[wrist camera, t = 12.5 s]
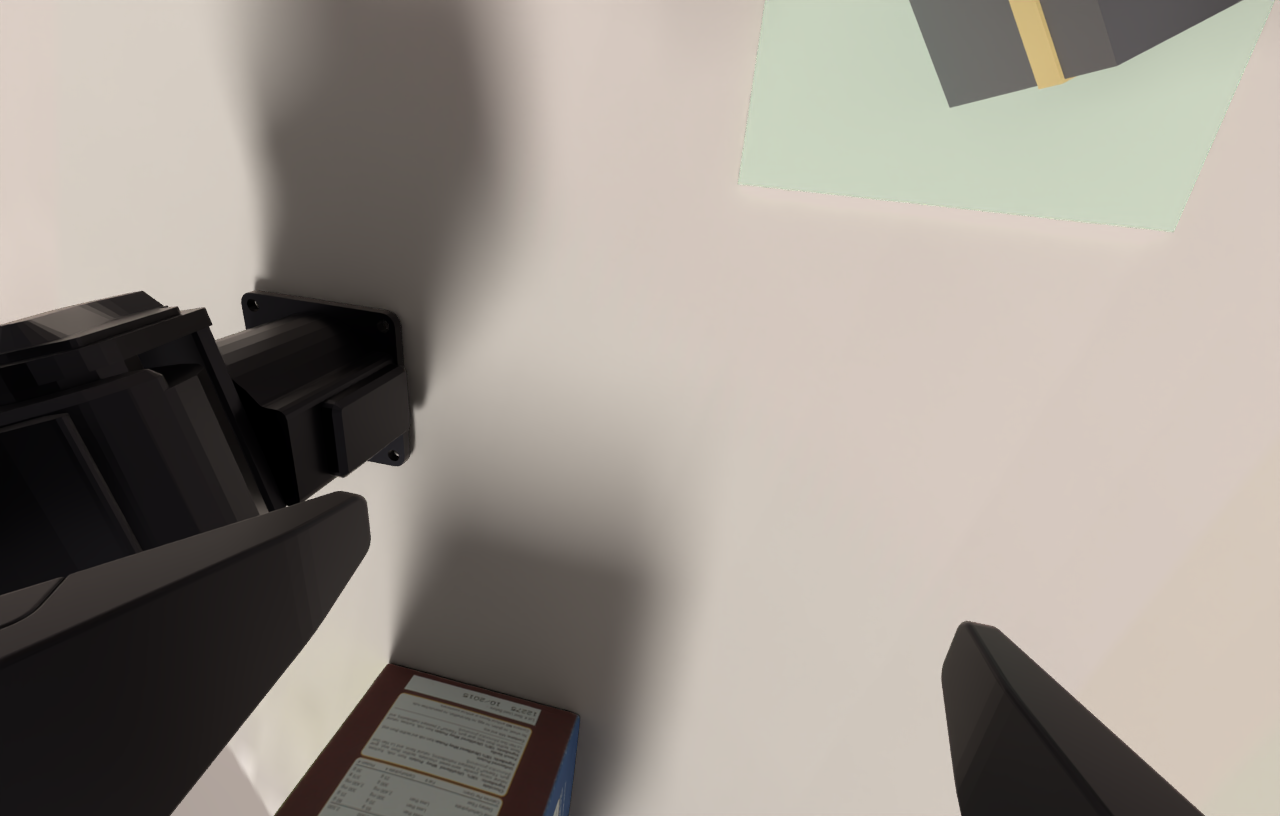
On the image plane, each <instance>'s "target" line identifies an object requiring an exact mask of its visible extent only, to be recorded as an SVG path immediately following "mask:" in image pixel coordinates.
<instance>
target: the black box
mask: <svg viewBox="0 0 1280 816" xmlns="http://www.w3.org/2000/svg"><path fill="white" fill-rule="evenodd" d="M1240 1H1242V0H909V2H910V4H911V7H912V9H913V12H914V15H915V17H916V20H917V23H918V25H919V28H920V31H921V33H922V36H923V39H924V41H925V44H926V47H927V49H928V52H929V54H930V57H931V60H932V62H933V65H934V68H935V70H936V73H937V76H938V78H939V81H940V84H941V86H942V89H943V91H944V94H945V97H946V99H947V102H948V105H949V107H950V108H952V107H956V106H960V105H964V104H968V103H972V102H976V101H980V100H984V99H988V98H992V97H996V96H1000V95H1004V94H1008V93H1012V92H1016V91H1019V90H1023V89H1027V88H1031V87H1035V86H1038V89H1043V88H1047V87H1051V86H1055V85H1060V84H1063V83H1065V82H1067V81H1069V80H1071V79H1073V78H1074V77H1076V76H1079V75H1083V74H1087V73H1091V72H1095V71H1099V70H1103V69H1107V68H1111V67H1115V66H1118V65H1120V64H1122V63H1124V62H1126V61H1128V60H1130V59H1132V58H1134V57H1135V56H1137V55H1139V54H1141V53H1143V52H1145V51H1147V50H1149V49H1151V48H1153V47H1155V46H1156V45H1158V44H1160V43H1162V42H1164V41H1166V40H1168V39H1170V38H1172V37H1174V36H1176V35H1177V34H1179V33H1181V32H1183V31H1185V30H1187V29H1189V28H1191V27H1193V26H1195V25H1197V24H1198V23H1200V22H1202V21H1204V20H1206V19H1208V18H1210V17H1212V16H1214V15H1216V14H1218V13H1219V12H1221V11H1223V10H1225V9H1227V8H1229V7H1231V6H1233V5H1235V4H1237V3H1239V2H1240Z"/></svg>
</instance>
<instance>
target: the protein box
mask: <svg viewBox="0 0 1280 816" xmlns="http://www.w3.org/2000/svg"><path fill="white" fill-rule="evenodd" d="M579 723H580V717H579V715H577V714H575V713H572V712H568V711H565V710H560V709H557V708H554V707H549V706H546V705H542V704H538V703H534V702H531V701H528V700H524V699H520V698H516V697H512V696H508V695H505V694H501V693H497V692H493V691H490V690H486V689H483V688H479V687H475V686H471V685H467V684H464V683H460V682H457V681H453V680H449V679H445V678H442V677H439V676H435V675H431V674H427V673H424V672H419V671H416V670H412V669H408V668H405V667H401V666H398V665H394V664H387V665H386V667H385V668H384V669H383V670H382V672H381V673H380V674H379V676H378V677H377V678H376V680H375V681H374V682H373V684H372V685H371V687H370V688H369V689H368V691H367V692H366V694H365V695H364V696H363V698H362V699H361V700H360V702H359V703H358V704H357V706H356V707H355V708H354V709H353V711H352V712H351V714H350V715H349V716H348V718H347V719H346V720H345V722H344V723H343V724H342V726H341V727H340V728H339V730H338V731H337V732H336V734H335V735H334V736H333V738H332V739H331V740H330V741H329V743H328V744H327V745H326V747H325V748H324V749H323V751H322V752H321V753H320V755H319V756H318V757H317V759H316V760H315V761H314V763H313V764H312V765H311V767H310V768H309V769H308V771H307V772H306V773H305V775H304V776H303V777H302V779H301V780H300V781H299V783H298V784H297V785H296V787H295V788H294V789H293V791H292V792H291V793H290V795H289V796H288V797H287V799H286V800H285V801H284V803H283V804H282V805H281V807H280V808H279V809H278V811H277V812H276V813H275V815H274V816H569V808H570V800H571V793H572V785H573V777H574V769H575V760H576V751H577V742H578V733H579Z"/></svg>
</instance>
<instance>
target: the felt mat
mask: <svg viewBox="0 0 1280 816" xmlns="http://www.w3.org/2000/svg"><path fill="white" fill-rule="evenodd" d="M1274 2H1275V0H1242V1H1240V2H1239V3H1237V4H1235V5H1233V6H1231V7H1229V8H1227V9H1225V10H1223V11H1221V12H1219V13H1218V14H1216V15H1214V16H1212V17H1210V18H1208V19H1206V20H1204V21H1202V22H1200V23H1198V24H1197V25H1195V26H1193V27H1191V28H1189V29H1187V30H1185V31H1183V32H1181V33H1179V34H1177V35H1176V36H1174V37H1172V38H1170V39H1168V40H1166V41H1164V42H1162V43H1160V44H1158V45H1156V46H1155V47H1153V48H1151V49H1149V50H1147V51H1145V52H1143V53H1141V54H1139V55H1137V56H1135V57H1134V58H1132V59H1130V60H1128V61H1126V62H1124V63H1122V64H1120V65H1118V66H1115V67H1111V68H1107V69H1103V70H1099V71H1095V72H1091V73H1087V74H1083V75H1079V76H1076V77H1074V78H1073V79H1071V80H1069V81H1067V82H1065V83H1063V84H1060V85H1055V86H1051V87H1047V88H1043V89H1038V86H1035V87H1031V88H1027V89H1023V90H1019V91H1016V92H1012V93H1008V94H1004V95H1000V96H996V97H992V98H988V99H984V100H980V101H976V102H972V103H968V104H964V105H960V106H956V107H952V108H950V107H949V105H948V102H947V99H946V97H945V94H944V91H943V89H942V86H941V84H940V81H939V78H938V76H937V73H936V70H935V68H934V65H933V62H932V60H931V57H930V54H929V52H928V49H927V47H926V44H925V41H924V39H923V36H922V33H921V31H920V28H919V25H918V23H917V20H916V17H915V15H914V12H913V9H912V7H911V4H910V2H909V0H765V4H764V10H763V17H762V24H761V31H760V37H759V44H758V51H757V58H756V64H755V71H754V78H753V84H752V91H751V98H750V105H749V111H748V118H747V125H746V132H745V138H744V145H743V152H742V159H741V165H740V172H739V179H738V184H739V185H748V186H758V187H767V188H776V189H785V190H794V191H803V192H812V193H821V194H830V195H839V196H849V197H858V198H867V199H876V200H885V201H894V202H903V203H912V204H921V205H930V206H939V207H949V208H958V209H967V210H976V211H985V212H994V213H1003V214H1012V215H1021V216H1030V217H1039V218H1049V219H1058V220H1067V221H1076V222H1085V223H1094V224H1103V225H1112V226H1121V227H1130V228H1139V229H1149V230H1158V231H1167V232H1174V230H1175V228H1176V226H1177V224H1178V221H1179V219H1180V217H1181V214H1182V212H1183V210H1184V208H1185V205H1186V203H1187V201H1188V198H1189V196H1190V194H1191V192H1192V189H1193V187H1194V185H1195V182H1196V180H1197V178H1198V176H1199V173H1200V171H1201V169H1202V166H1203V164H1204V162H1205V160H1206V157H1207V155H1208V153H1209V150H1210V148H1211V146H1212V144H1213V141H1214V139H1215V137H1216V134H1217V132H1218V130H1219V127H1220V125H1221V123H1222V121H1223V118H1224V116H1225V114H1226V111H1227V109H1228V107H1229V105H1230V102H1231V100H1232V98H1233V95H1234V93H1235V91H1236V89H1237V86H1238V84H1239V82H1240V79H1241V77H1242V75H1243V73H1244V70H1245V68H1246V66H1247V63H1248V61H1249V59H1250V57H1251V54H1252V52H1253V50H1254V47H1255V45H1256V43H1257V41H1258V38H1259V36H1260V34H1261V31H1262V29H1263V27H1264V25H1265V22H1266V20H1267V18H1268V15H1269V13H1270V11H1271V9H1272V6H1273V4H1274Z"/></svg>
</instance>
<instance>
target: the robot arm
mask: <svg viewBox="0 0 1280 816" xmlns="http://www.w3.org/2000/svg"><path fill="white" fill-rule="evenodd" d="M255 301H256V302H257V303H258V306H259V308H258V307H257V306H256V304H255ZM241 304H242V310H243V315H244V321H245V326H246V330H244V331H241V332H238V333H235V334H232V335H229V336H226V337H224V338H221V339H218V340H215V339H214V337H213V335H212V332H211V330H210V328H209V326H211V325H212V323H211V320H210V318H209V316H208V313H207V311H206V309H205V307H203V308H196V309H189V310H183V311H180V310H179V308H178V306H176V307H168V306H163V305H162V304H160V303H159V302H158V301H156V300H155V299H153V298H152V297H151V296H149V295H148V294H146V293H145V292H143V291H139V292H133V293H127V294H122V295H118V296H113V297H109V298H104V299H100V300H95V301H90V302H86V303H81V304H77V305H73V306H68V307H64V308H60V309H56V310H52V311H48V312H45V313H41V314H37V315H34V316H30V317H27V318H23V319H19V320H16V321H12V322H9V323H5V324H1V325H0V816H170V815H171V814H172V813H173V811H174V810H175V809H176V808H177V806H178V805H179V804H180V803H181V801H182V800H183V799H184V797H185V796H186V795H187V794H188V792H189V791H190V790H191V789H192V787H193V786H194V785H195V784H196V782H197V781H198V780H199V779H200V777H201V776H202V775H203V774H204V772H205V771H206V769H208V767H209V766H210V765H211V763H212V762H213V761H214V760H215V758H216V757H217V756H218V755H219V753H220V752H221V751H222V749H223V748H224V747H225V746H226V745H227V743H228V742H229V741H230V740H231V738H232V737H233V736H234V735H235V733H236V732H237V731H238V730H239V728H240V727H241V726H242V725H243V723H244V722H245V721H246V719H247V718H248V717H249V716H250V714H251V713H252V712H253V711H254V709H255V708H256V707H257V706H258V704H259V703H260V702H261V701H262V699H263V698H264V697H265V696H266V694H267V693H268V692H269V691H270V689H271V688H272V687H273V686H274V684H275V683H276V682H277V680H278V679H279V678H280V677H281V675H282V674H283V673H284V672H285V670H286V669H287V668H288V667H289V665H290V664H291V663H292V662H293V660H294V659H295V658H296V657H297V655H298V654H299V653H300V652H301V650H302V649H303V648H304V646H305V645H306V644H307V642H308V641H309V640H310V639H311V637H312V636H313V635H314V633H315V632H316V630H317V629H318V627H319V626H320V624H321V623H322V622H323V620H324V619H325V617H326V616H327V614H328V612H329V611H330V609H331V608H332V606H333V605H334V603H335V602H336V600H337V599H338V597H339V595H340V594H341V592H342V591H343V589H344V588H345V586H346V585H347V583H348V582H349V580H350V578H351V577H352V575H353V574H354V572H355V571H356V569H357V568H358V566H359V565H360V563H361V561H362V560H363V558H364V557H365V555H366V553H367V551H368V549H369V546H370V541H371V535H370V526H369V517H368V507H367V502H366V500H365V498H364V497H363V496H361V495H358V494H353V493H349V492H344V491H336V492H333V493H330V494H326V495H323V496H320V497H317V498H314V499H310V500H307V499H308V498H309V497H311V496H312V495H313V494H315V493H316V492H317V491H319V490H320V489H321V488H323V487H324V486H325V485H327V484H328V483H329V482H331V481H332V480H334V479H335V478H336V477H342V478H344V477H346V476H348V475H349V474H350V473H352V472H353V471H354V470H356V469H357V468H358V467H360V466H361V465H362V464H364V463H365V462H366V461H371V462H376V463H381V464H386V465H391V466H400V465H402V464H403V463H404V462H406V461H407V460H408V459H409V457H410V445H409V431H408V429H409V428H410V415H409V401H408V386H407V373H406V370H405V369H404V360H403V346H402V332H401V323H400V320H399V318H398V317H397V315H396V314H394V313H393V312H391V311H388V310H382V309H375V308H369V307H362V306H356V305H349V304H343V303H336V302H330V301H323V300H317V299H310V298H304V297H297V296H291V295H284V294H278V293H271V292H265V291H252V292H248V293H246V294H244V295H243V297H242V299H241ZM383 320H385V321H386V322H387V323H388V325H389V329H386V328H385V327H384V325H383ZM393 450H394V451H396V452H397V453H398V454H399V456H397V455H396V454H395V453H394V451H393ZM305 500H307V501H305ZM286 505H287V506H288V507H286ZM941 680H942V689H943V697H944V704H945V712H946V720H947V727H948V735H949V743H950V750H951V758H952V766H953V773H954V780H955V786H956V793H957V798H958V802H959V807H960V812H961V816H1205V815H1204V814H1203V813H1201V812H1200V811H1199V810H1198V809H1197V808H1196V807H1195V806H1194V805H1193V804H1191V803H1190V802H1189V801H1188V800H1187V799H1186V798H1185V797H1184V796H1183V795H1182V794H1180V793H1179V792H1178V791H1177V790H1176V789H1175V788H1174V787H1173V786H1172V785H1170V784H1169V783H1168V782H1167V781H1166V780H1165V779H1164V778H1163V777H1162V776H1161V775H1159V774H1158V773H1157V772H1156V771H1155V770H1154V769H1153V768H1152V767H1151V766H1149V765H1148V764H1147V763H1146V762H1145V761H1144V760H1143V759H1142V758H1141V757H1139V756H1138V755H1137V754H1136V753H1135V752H1134V751H1133V750H1132V749H1131V748H1130V747H1128V746H1127V745H1126V744H1125V743H1124V742H1123V741H1122V740H1121V739H1120V738H1118V737H1117V736H1116V735H1115V734H1114V733H1113V732H1112V731H1111V730H1110V729H1108V728H1107V727H1106V726H1105V725H1104V724H1103V723H1102V722H1101V721H1100V720H1099V719H1097V718H1096V717H1095V716H1094V715H1093V714H1092V713H1091V712H1090V711H1089V710H1087V709H1086V708H1085V707H1084V706H1083V705H1082V704H1081V703H1080V702H1079V701H1077V700H1076V699H1075V698H1074V697H1073V696H1072V695H1071V694H1070V693H1069V692H1068V691H1066V690H1065V689H1064V688H1063V687H1062V686H1061V685H1060V684H1059V683H1058V682H1056V681H1055V680H1054V679H1053V678H1052V677H1051V676H1050V675H1049V674H1048V673H1047V672H1045V671H1044V670H1043V669H1042V668H1041V667H1040V666H1039V665H1038V664H1037V663H1035V662H1034V661H1033V660H1032V659H1031V658H1030V657H1029V656H1028V655H1027V654H1025V653H1024V652H1023V651H1022V650H1021V649H1020V648H1019V647H1018V646H1017V645H1016V644H1014V643H1013V642H1012V641H1011V640H1010V639H1009V638H1008V637H1007V636H1006V635H1004V634H1003V633H1002V632H1001V631H1000V630H999V629H997V628H996V627H994V626H990V625H985V624H980V623H976V622H971V621H965V622H962V623H961V624H960V625H959V627H958V628H957V631H956V633H955V636H954V638H953V641H952V643H951V646H950V648H949V651H948V653H947V656H946V658H945V661H944V663H943V667H942V675H941Z"/></svg>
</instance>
